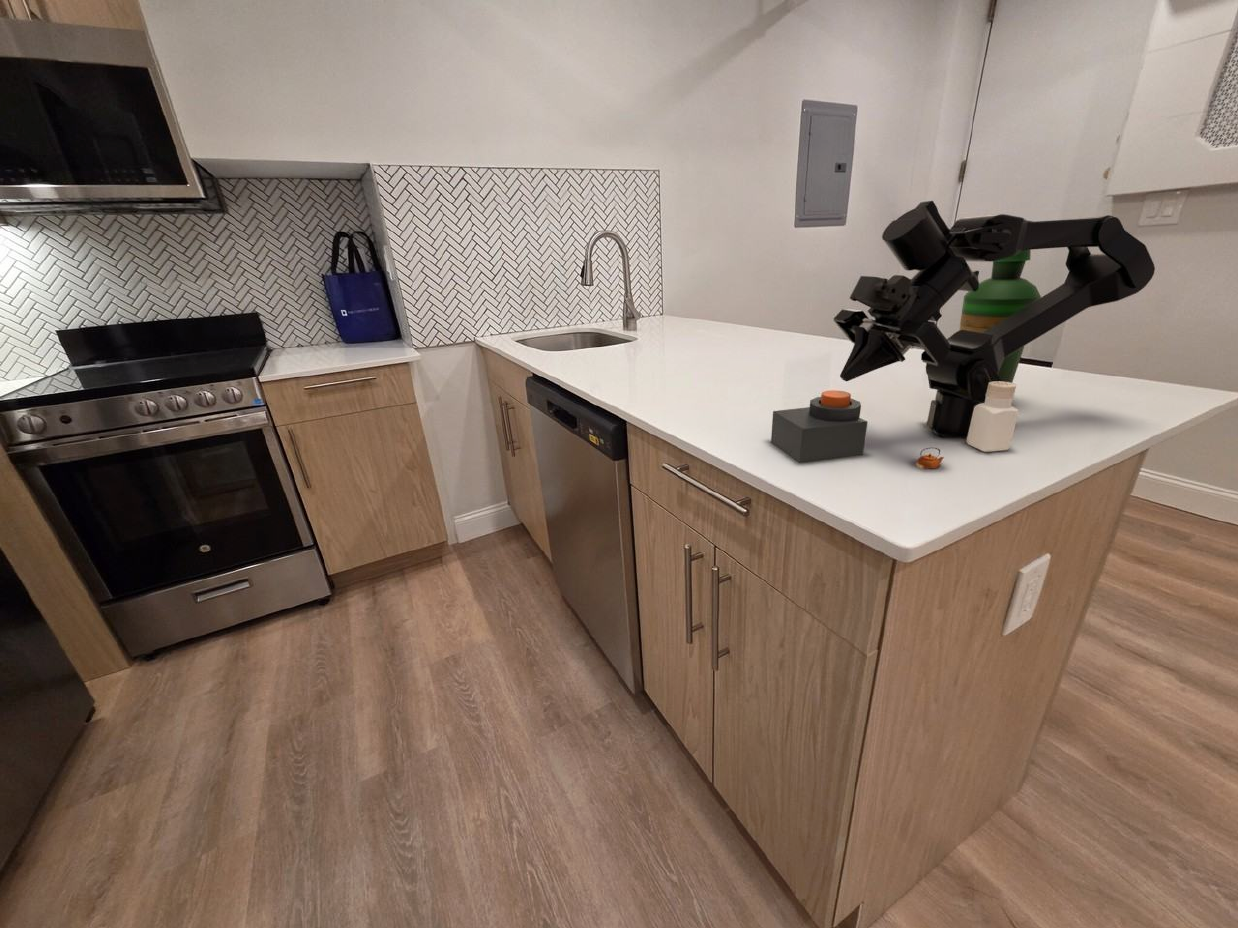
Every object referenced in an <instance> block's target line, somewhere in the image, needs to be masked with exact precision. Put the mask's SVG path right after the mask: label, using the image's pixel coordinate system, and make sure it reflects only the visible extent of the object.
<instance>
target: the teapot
mask: <svg viewBox="0 0 1238 928" xmlns="http://www.w3.org/2000/svg"><path fill="white" fill-rule="evenodd" d="M929 449H932V450H933V449H934V450H937V451H938V455H937V456H935V455H932V454H931V453H929V454H924V455H922V453H923V452H924V451H925V450H929ZM940 454H941V449H940V448H938V447H926V448H923V449H922V450H921V451H920V453H919V455H920V457H919V458H918V459H917V460H916V463H915V464H916V466H917V467H918V468H920V469H924V470H934V469H937V468H939V467H940V465H941V463H942V461H943V459H944V458H945V457H944V456H940ZM939 456H940V457H939Z"/></svg>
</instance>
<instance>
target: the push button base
mask: <svg viewBox="0 0 1238 928" xmlns="http://www.w3.org/2000/svg"><path fill="white" fill-rule="evenodd" d="M820 403H821V396H817V397H814V398H812V399H810V400H809V406H808V407H807V406H806V407H797V408H788V409H782V410H781V409H780V410H773V411H772V420H771V422H772V423H771V434H770V443H771V444H773V445H774V446H775V447H777V448H778V449H780V450H781V451H782V452H784V453H785V454H787V456H789V457H790V458H792V459H793V460H795V461H796V462H797V463H799V464H804V463H810V462H820V461H826V460H827V461H828V460H834V459H842V458H849V457H850V458H851V457H858V456H864V449H865V443H866V436H867V427H868V420H865V419H863V418H861V417H860V416H861V409H862V403H861V402H860V401H859V400H857V399H854V398H851V399H850V406H847V407H829V406H824V405H821V404H820Z"/></svg>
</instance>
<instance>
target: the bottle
mask: <svg viewBox="0 0 1238 928" xmlns="http://www.w3.org/2000/svg"><path fill="white" fill-rule="evenodd" d="M1031 252H1032V251H1031V250H1025V251H1021V252H1019V253H1017V254H1016V255H1014V256H1011V257H1007V258H1004V259H1000V260H997V261H992V267H991V276H990V277H989V278H986V279H983V280H982V281H979V288H978V290H977V291H975V292H974V291H966V293H965V294H964V295H963V300H962V301H963V302H962V308H961V316H960V321H959V322H960V323H959V329H958V331H959V330H962V329H963V330H969V331H975V332H981V333H983V332H985V331H986V330H988V329H990V328H991V327H993V326H995V325H996V324H998V323H1000V322H1001V321H1003V320H1005V319H1006V318H1008V317H1010V316H1011V315H1013V314H1014V313H1016V312H1018V311H1019V310H1021V309H1023V308H1024V307H1026V306H1028V305H1029V304H1031V303H1033V302H1034V301H1036V300H1038V299H1039V298H1041V297H1042V296H1041V294H1040V292H1039V290H1038V288H1037V286H1036V285H1035V284H1033V283H1032V282H1030V281H1029V280H1027V279H1026V278H1024V277H1021V276H1022V273H1023V271H1024V268H1025V265H1026V262H1027V261H1031ZM1024 349H1025V346H1023V347H1022V348H1020V349H1018V350H1017V351H1015V352H1013V353H1012V354H1010V355H1008V356H1007V357H1005V358H1004V361H1003V363H1002V365H1001V368H1000V370H999V372H998V373H997V374H998V375H999V377H1000V378H1001V380H1002V381H1003V382H1010V383H1014V379H1015V376H1016V373H1017V370H1018V367H1019V364H1020V361H1021V358H1022V355H1023V352H1024Z"/></svg>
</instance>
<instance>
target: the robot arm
mask: <svg viewBox="0 0 1238 928" xmlns="http://www.w3.org/2000/svg"><path fill="white" fill-rule="evenodd" d="M938 209H939V208H938V206H937V204H936V203H935V201H934V200H928V201H921V202H920V203H919V204H918V205H917V206H915V207H914V208H913V209H910V210H908V211H907V212H905V213H903V214H902V215H900V216H898V217H897V219H895V220H894V219H893V220H892V221H891V222H890V223H889V224H888V225H887V226H886V227H885V229H884V230H883V232H882V235H881V239H882V240H883V242H884V243H885V244H886V246H887V247H888V249H889V250H890V251H891V253H892V254H893V256H894V257H895V259H896V260H897V261H898V263H899V264H900V266H901V267H902V268H903V270H905V271H907V272H909V271H917V272H916V274H914V276H912V277H911V278H909V277H907V276H905V275H902V274H901V275H898V274H894V275H892V276H891V277H890V278H889V279H888V278H886V277H879V276H867V275H861V276H859V278H858V280H857V282H856V285H855V286H854V288H853V290H852V292H851V294H850V296H849V299H850V300H851V301H853V302H858V303H861V304H862V305H865V306H867V307H869V309H868V310H867V313H868V314H869V315H870V317H872V318H874V319H872V318H869V317H868V316H867V314H866V313H865V312H864V310H860V309H853V308H844V309H843V308H842V309H841V310H840V311H839V312H838V313H837V314H836V315H835V316H834V317H833V322H834V323H835V324H836V325H837V327H838V328H839V329H840V330H841V331H842V333H843V334H844V335H845V336H846V338H848V340H849V341H850V342H851V343H852V344H853V346H852V350H851V351H850V354H849V355H848V358H847V360H846V361H845V363H844V366H843V368H842V370H841V373H840V374H839V377H840V379H841V380H842V381H844V382H849V381H852V380H854V379H857V378H859V377H861V376H863V375H866V374H868V373H871V372H874V371H876V370H878V369H882V368H884V367H888V366H890V365H893V364H896V363H899V362H901V363H904V361H906V357H905V356H904V355H905V354H906V353H907V352H908V351H909V350H910V349H911V350H913V349H914V348H920V349H923V350H924V351H923V352H922V353H921V355H920V360H921V361H922V362H923V363H925V373H926V375H927V379H928V380H927V381H928V387H929V389H931V390H936V393H935V398H934V399H932V400H931V401H930V406H929V411H928V415H927V421H926V425H927V426H928V427H929V428H930V430H931V431H932V432H933V433H934V434H935V435H936V436H937V437H944V438H945V437H949V438H950V437H951V438H967V437H968V432H969V428H970V424H971V419H972V415H973V411H974V407H975V406H976V405H978V404H981V403H985V399H986V396H985V395H986V392H987V388H988V384H989V382H993V381H1002V380H1001V378H1000V377H999V375H998V374H997V373H998V372H999V370H1000V368H1001V365H1002V363H1003V361H1004V358H1005V357H1007V356H1008V355H1010V354H1012V353H1013V352H1015V351H1017V350H1018V349H1020V348H1022V347H1023V346H1024V347H1025V346H1026V345H1028V344H1030V343H1033V341H1035V340H1037V339H1038V338H1040V337H1042V336H1044V335H1045V334H1047V333H1048V332H1050V331H1052V330H1053V329H1055V328H1057V327H1058V326H1060V325H1062V324H1064V323H1066V322H1067V321H1068V320H1071V318H1073V317H1075V316H1077V315H1078V314H1080V313H1083V311H1085V310H1087V309H1090V308H1092V307H1097V306H1102V305H1106V304H1111V303H1115V302H1119V301H1122V300H1124V299H1126V298H1129V297H1132V296H1133V295H1136V294H1137V293H1139V292H1140V291H1142V290H1143V289H1145V288H1146V286H1147V285H1148V284H1149V282H1150V281H1151V280H1152V278H1153V276H1154V275H1155V271H1156V267H1155V263H1154V262H1153V261H1154V260H1153V259H1152V257H1151V255H1150V252H1149V250H1148V248H1147V246H1146V244H1145V243H1143V242H1142V241H1140V240H1139V239H1138V238H1137V237H1135V236H1134V235H1132V234H1131V233H1129V232H1128V231H1126V229H1125V228H1124V226H1123V224H1122V222H1121V220H1120V219H1119V218H1118V217H1116V216H1114V215H1110V214H1106V215H1105V214H1104V215H1092V216H1081V217H1078V218H1073V219H1070V218H1069V219H1057V220H1056V219H1055V220H1040V221H1039V220H1038V221H1033V220H1027V219H1026V218H1024V217H1021V216H1017V215H1010V214H1006V213H1005V214H1004V213H1002V214H990V215H978V216H977V215H976V216H968V217H967V216H966V217H962V218H959V219H957V220H956V221H955V222H954V224H953V225H952V226H951V227H950V228H949V227H948V225H947V224H946V221H944V219H943V218H942V216H941V214H940V212H939V210H938ZM1060 248H1067V250H1068V253H1067V257H1066V261H1065V267H1066V269H1067V270H1068V272H1067V273H1066V276H1065V279H1064V280H1063V283H1062V284H1060V285H1059V286H1058V287H1056V288H1054V289H1053V290H1051V291H1049V292H1048V293H1046V294H1044V295H1043V296H1041V298H1039V299H1038V300H1036V301H1034V302H1033V303H1031V304H1029V305H1028V306H1026V307H1024V308H1023V309H1021V310H1019V311H1018V312H1016V313H1014V314H1013V315H1011V316H1010V317H1008V318H1006V319H1005V320H1003V321H1001V322H1000V323H998V324H996V325H995V326H993V327H991V328H990V329H988V330H986V331H985V332H983V333H981V332H975V331H969V330H963V329H962V330H959V329H958V330H957V331H955V332H954V333H953V334H952V335H950V336H949V337H948V338H946V337H945V335H944V334H943V332H942V331H941V329H940V328H939V327H938V325H937V324H936V322H938V321H939V320H940V319H941V318H942V317H943V314H942V313H941V312H940V311H939V310H940V309H941V308H942V307H943V306H944V305H946V303H947V302H949V300H951V298H952V297H954V295H956V293H957V292H958V291H962V292H963V291H964V292H968V291H974V292H975V291H977V290H978V288H979V283H980V281H979V274H980V270H977V269H976V270H974V269H973V270H972V269H971V267H970V266H969V263H968V262H988V263H989V262H992V261H997V260H1000V259H1004V258H1007V257H1011V256H1014V255H1016V254H1017V253H1019V252H1021V251H1025V250H1033V251H1034V250H1045V249H1060ZM1089 248H1098V249H1099V251H1100V252H1095V253H1091V250H1090V249H1089ZM992 263H993V262H992Z"/></svg>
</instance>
